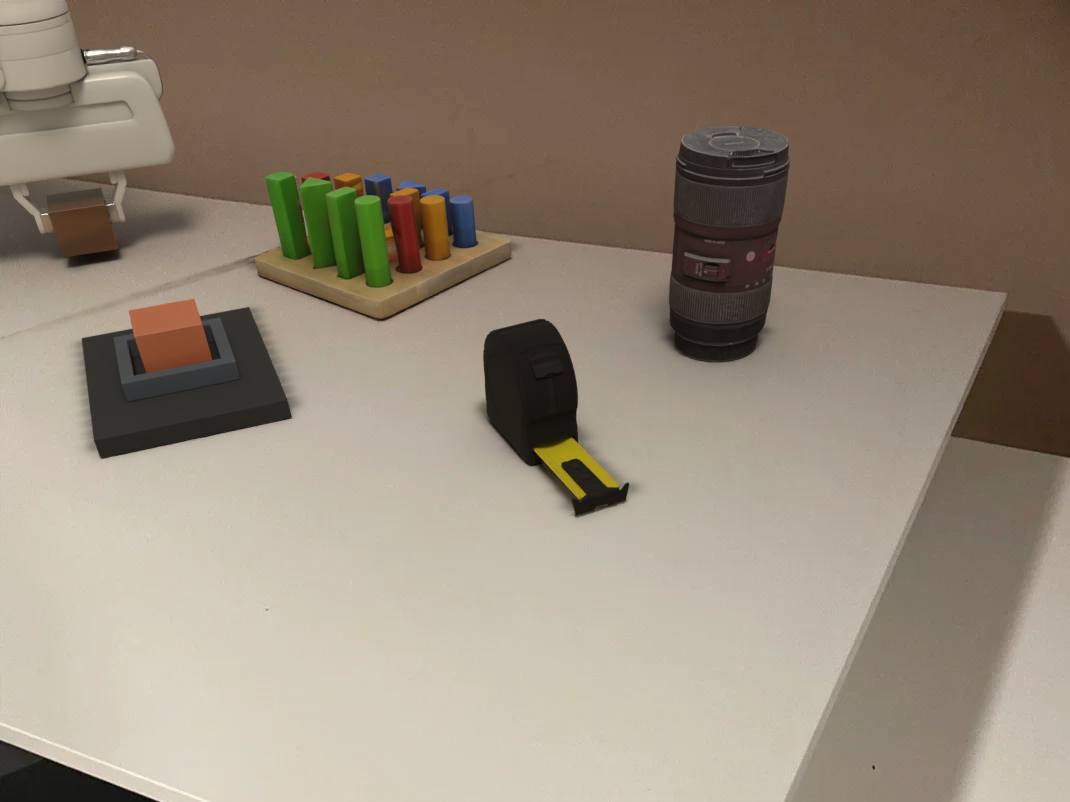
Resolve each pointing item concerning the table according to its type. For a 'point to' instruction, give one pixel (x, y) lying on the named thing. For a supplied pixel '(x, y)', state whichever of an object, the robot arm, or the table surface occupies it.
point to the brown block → (81, 222)
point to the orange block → (170, 335)
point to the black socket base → (181, 388)
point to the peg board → (374, 241)
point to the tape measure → (543, 408)
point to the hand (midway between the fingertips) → (83, 226)
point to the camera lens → (725, 238)
